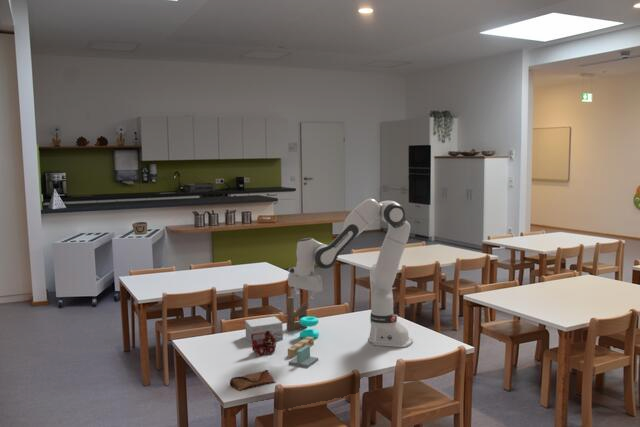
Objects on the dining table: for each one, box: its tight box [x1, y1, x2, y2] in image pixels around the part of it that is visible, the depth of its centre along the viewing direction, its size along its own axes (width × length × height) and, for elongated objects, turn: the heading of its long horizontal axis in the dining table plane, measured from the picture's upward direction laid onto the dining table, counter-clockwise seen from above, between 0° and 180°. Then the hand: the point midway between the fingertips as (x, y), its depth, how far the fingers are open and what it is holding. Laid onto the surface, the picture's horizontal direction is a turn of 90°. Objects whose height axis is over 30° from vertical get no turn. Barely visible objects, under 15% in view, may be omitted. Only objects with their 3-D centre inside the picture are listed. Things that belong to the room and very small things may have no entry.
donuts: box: [298, 315, 320, 340], centre depth 301 cm, size 10×10×10 cm
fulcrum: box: [288, 345, 319, 369], centre depth 264 cm, size 10×10×7 cm
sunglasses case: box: [229, 369, 276, 392], centre depth 241 cm, size 18×7×7 cm
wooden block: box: [286, 296, 308, 331], centre depth 315 cm, size 4×11×18 cm, turn 112°
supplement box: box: [244, 316, 284, 345], centre depth 301 cm, size 17×13×9 cm
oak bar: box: [287, 337, 315, 358], centre depth 281 cm, size 20×4×4 cm, turn 153°
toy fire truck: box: [251, 331, 277, 357], centre depth 279 cm, size 7×12×10 cm, turn 118°
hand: (304, 298), depth 284 cm, fingers open, 8 cm apart
